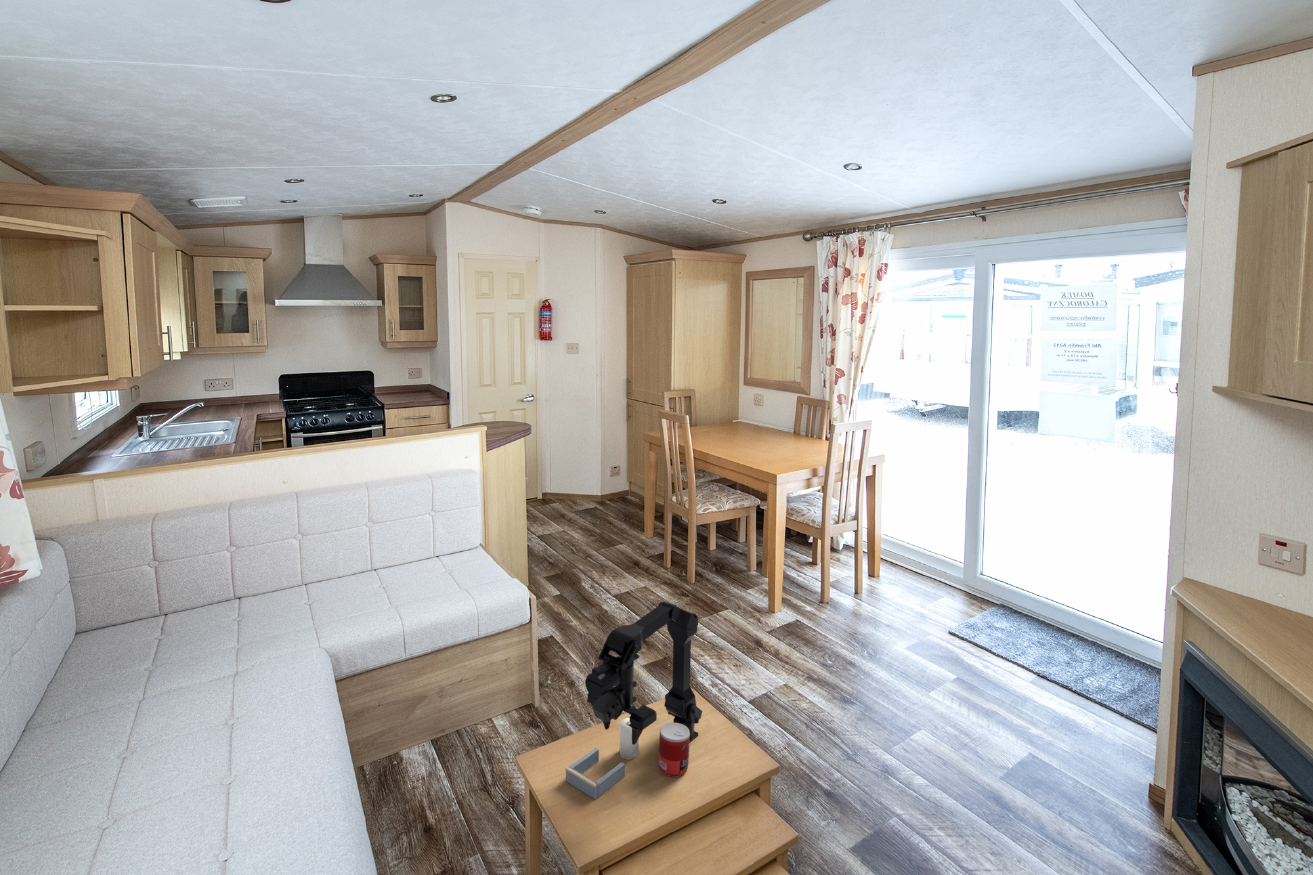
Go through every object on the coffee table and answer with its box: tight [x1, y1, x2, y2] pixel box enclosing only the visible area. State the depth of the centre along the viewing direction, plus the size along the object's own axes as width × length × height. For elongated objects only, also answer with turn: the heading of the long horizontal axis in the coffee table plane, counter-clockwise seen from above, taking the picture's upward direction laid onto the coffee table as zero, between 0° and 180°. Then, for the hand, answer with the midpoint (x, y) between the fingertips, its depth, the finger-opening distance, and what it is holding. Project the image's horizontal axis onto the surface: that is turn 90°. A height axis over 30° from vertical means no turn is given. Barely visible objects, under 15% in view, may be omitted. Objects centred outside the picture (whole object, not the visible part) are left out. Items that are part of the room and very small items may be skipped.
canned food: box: [658, 722, 690, 777], centre depth 181 cm, size 8×8×11 cm
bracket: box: [564, 747, 626, 800], centre depth 176 cm, size 12×10×4 cm
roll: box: [619, 717, 640, 760], centre depth 186 cm, size 5×5×9 cm
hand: (620, 736), depth 171 cm, fingers open, 9 cm apart
